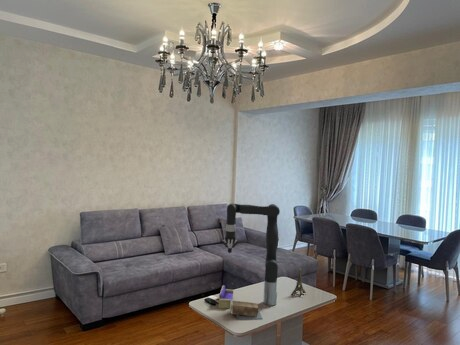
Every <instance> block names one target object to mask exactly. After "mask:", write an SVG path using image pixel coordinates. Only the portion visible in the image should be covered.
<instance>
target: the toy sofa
mask: <svg viewBox="0 0 460 345" xmlns="http://www.w3.org/2000/svg"><path fill="white" fill-rule="evenodd" d="M218 297H219V298H218V308H219V309H220V308H221V309H230V308H231V301H233V299H234V289H229V288H226V285H224V284H223V285H222V286H221V289H220V293H219V294H218Z"/></svg>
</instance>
